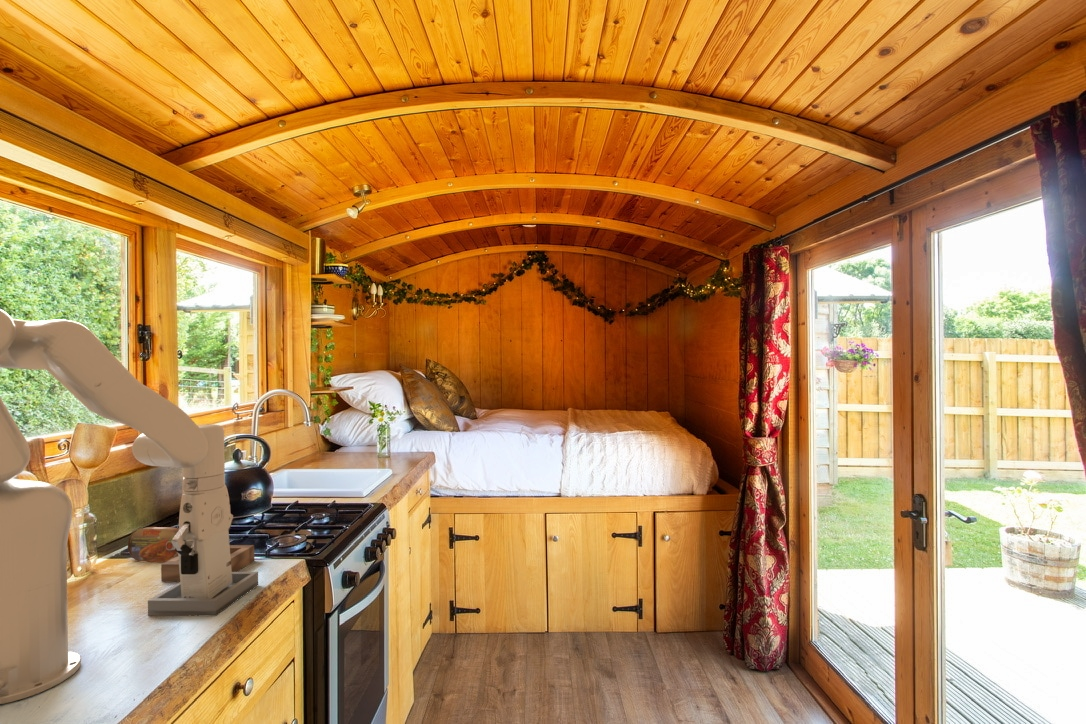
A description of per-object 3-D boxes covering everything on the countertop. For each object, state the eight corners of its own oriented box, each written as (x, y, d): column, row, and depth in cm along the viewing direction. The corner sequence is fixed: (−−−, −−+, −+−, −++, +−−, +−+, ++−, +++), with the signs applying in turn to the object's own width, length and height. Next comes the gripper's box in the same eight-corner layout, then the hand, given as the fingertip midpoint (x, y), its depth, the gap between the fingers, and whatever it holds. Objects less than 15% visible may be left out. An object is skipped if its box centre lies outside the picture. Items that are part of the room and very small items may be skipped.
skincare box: (207, 603, 105) (202, 532, 104) (179, 602, 105) (173, 532, 104) (234, 582, 113) (229, 517, 112) (207, 582, 113) (202, 517, 112)
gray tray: (215, 615, 101) (215, 600, 101) (148, 615, 102) (147, 600, 102) (258, 585, 115) (258, 571, 115) (198, 585, 116) (198, 571, 116)
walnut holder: (221, 581, 118) (221, 564, 118) (161, 581, 118) (161, 564, 118) (254, 560, 130) (254, 545, 130) (199, 560, 131) (199, 545, 131)
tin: (126, 561, 131) (126, 528, 132) (138, 556, 135) (137, 524, 135) (178, 563, 129) (178, 530, 129) (188, 558, 132) (188, 526, 133)
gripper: (191, 493, 100) (192, 582, 100) (246, 474, 117) (247, 550, 117) (154, 493, 100) (155, 582, 100) (215, 474, 118) (216, 550, 117)
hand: (205, 564), depth 109 cm, fingers closed on skincare box, 8 cm apart
